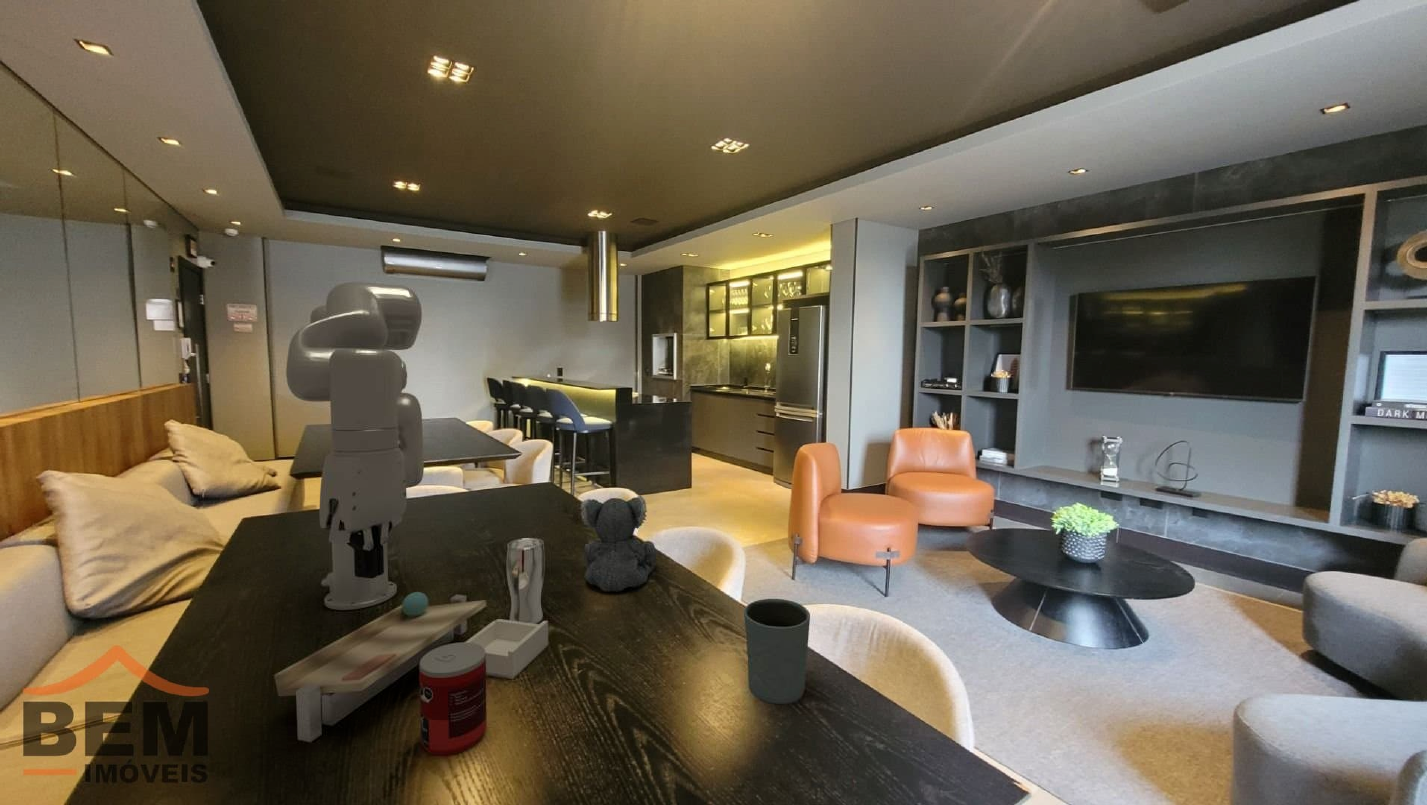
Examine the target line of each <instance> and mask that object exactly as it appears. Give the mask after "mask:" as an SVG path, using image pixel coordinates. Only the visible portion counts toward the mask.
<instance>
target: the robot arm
mask: <svg viewBox="0 0 1427 805" xmlns="http://www.w3.org/2000/svg"><path fill="white" fill-rule="evenodd" d="M325 302H326V303H325V305H324V304H323V305H320V306H318V307H315V308H314V309H313V310H312V312H311V314H310V320H309V322H310V323H308V324H306V325H305V326H303V327H301V328H300V329H298V330H297V331H296V332H295V333H294V334H293V336H292V338H291V339H290V343H289V346H288V351H287V360H286V370H285V374H286V375H285V376H286V382H287V386H288V389H289V391H290V392H291V393H292V395H293V396H294V397H295V398H297V399H299V400H301V401H304V402H314V403H317V402H330V428H331V429H330V431H331V432H330V439H331V452H330V453H329V454H327V455H326V456H325V460H324V463H323V466H322V467H323V468H322V474H321V482H320V490H319V526H320V528H321V530H325V531H330V532H329V536H328V542H329V543H331V548H332V549H331V550H332V551H331V552H332V554H331V555H332V572H329V573H328V574H327V575H326V578H323V579H322V581H321V582H320V585H321V586H324V587H329V593H328V594H326V596H324V606H325V607H327V608H328V609H331V610H336V611H351V610H358V609H363V608H368V607H373V606H375V605H378V604H381V603H383V602H386V601H387V600H390V599H391V598H393V597H394V596H395V594H397V589H398V588H397V587H398V586H397V584H396V583H395V582H392V581H389V575H388V574H389V573H388V572H389V571H388V540H389V539H388V538H389V534H390V532H391V530H392V529H393V528H394V527H396V526H397V525H399V524H400V523H402V521H403V514H404V513H405V512H406V510H407V502H408V500H407V498H408V496H407V494H408V493H407V489H410V488H413V487H416V486H418V485H420V483H421V482H422V481H423V478H424V469H425V462H424V461H425V460H424V459H425V458H424V457H425V456H424V436H423V415H422V414H423V413H422V409H421V408H422V407H421V404H420V402H419V399H418V398H417V397H416V396H415V394H414V395H413V394H412V393H408V392H403V391H404V389H406V387H407V383H408V381H407V380H408V379H407V378H408V372H407V365H406V363H405V361H404V360H402V358H401V357H400V355H399V354H398V353H396V352H394V351H404V350H405V351H406V350H409V349H411V348H412V347H413V346H414V344H415V342H416V340H417V336H418V333H419V331H420V329H421V324H422V318H423V316H422V315H423V313H422V306H421V304H422V303H421V301H420V299H419V297H418V295H417V294H416V292H414V291H413V290H412V289H411V288H409V287H407V286H403V285H394V284H384V283H383V284H382V283H375V282H374V283H371V282H362V281H359V282H358V281H354V282H353V281H350V282H349V281H348V282H343V283H339V284H338V285H336V286H334V287H333V288H331V289H330V290H329V292H328V294H327V297H326V301H325Z"/></svg>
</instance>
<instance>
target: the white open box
mask: <svg viewBox="0 0 1427 805" xmlns="http://www.w3.org/2000/svg"><path fill="white" fill-rule="evenodd" d="M465 642H467V643H475V644H478V645H480V646H482V647H483V648H484V649H485V654H486V676H490V677H497V678H504V679H509V680H515V678H516V677H517V676H518V675H519V674H520V673H521V672H522V671H523V670H524V669H525V668H526V667H528V665H529V664H530V663H532V662H533V661H534V660H535V659H536V658H537V657H538V656H539V655H540V654H541V653H542V652H543V651H544V650H545V649H546V648H547V647H548V646H549V621H548V620H543V621H542V622H539V623H537V624H532V623H525V622H517V621H510V620H509V619H501V618H497V619H496V620H493V621H492V622H490V623H489V624H487V625H486V626H485V627H483V628H482V629H481V630H479V631H478V632H476V633H475V634H474V635H473V636H471V637H470V638H469V639H467V640H466V641H465Z"/></svg>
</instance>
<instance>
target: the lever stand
mask: <svg viewBox="0 0 1427 805" xmlns="http://www.w3.org/2000/svg"><path fill="white" fill-rule="evenodd" d="M463 602H467V595H463V594H455V595H454V596H451V597H450V604H454V603H463ZM467 620H468V619H466V620H465V621H463V622H462V623H460V624H459V625H458V626H456V627H455V628H453V629H452V630H450V631H449V632H447V633H446V634H444V635H443V636H441V637H440V638H438V639H437V640H436V641H434V642H433V643H431V644H430V645H428V646H427V647H425V648H424V649H422V650H421V651H419V652H418V653H416V654H415V655H414V656H412V657H411V658H409V659H408V660H406V661H405V662H403V663H402V664H400V665H399V666H397V667H396V668H394V669H393V670H392V671H390V672H389V673H387V674H386V675H384V676H383V677H381V678H380V679H378V680H377V681H375V682H374V683H372V684H371V685H370V686H368V687H367V688H365V689H364V690H362V691H351V692H336V693H326V694H325V695H323V696H322V697H320V686H316V685H311V684H307V685H305V686H304V687H302V688H300V689H299V690H297V691H296V695H295V698H296V700H295V701H296V702H295V703H296V721H297V722H296V723H297V726H296V727H297V740H298V741H303V742H307V743H312V742H313V741H314V740H316V739H318V738H319V737H320V736H322V733H323V730H322V729H323V728H322V725H327V726H334V725H335V724H337V723H338V722H339V721H341V720H343V719H344V718H346V716H348V715H350V714H351V713H352V712H354V711H355V710H357V709H358V708H359V707H360V706H363V704H365V703H367V701H369V700H370V699H372V698H373V697H375V696H376V695H378V694H379V693H381V692H382V691H383V690H385V689H386V688H387V687H389V686H391V684H393V683H394V682H396V681H398V680H399V679H400V678H402V677H403V676H404V675H406V674H407V673H409V672H411V670H413V669H414V668H415V667H417V666H418V665H420V661H421V659H422V657H423V656H424V655H425V654H427V653H428V652H430V651H432V650H434V649H436V648H438V647H441V646H444V645H448V644H450V643H451V642H452V641H454V638H455V637H454V635H459V636H462V635H463V634H465V633H466V632H468V630H467V629H468V625H467V624H468V622H467Z"/></svg>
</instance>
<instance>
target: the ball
mask: <svg viewBox="0 0 1427 805" xmlns="http://www.w3.org/2000/svg"><path fill="white" fill-rule="evenodd" d="M401 605H402V609H403V611H404V613H405V614H406V615H408V616H411V617H415V616H419V615H421V614H422V613H423V612H424V611H425V610H426V609H427V607H428V606H429V599H428V596H427V595H426V593H423V592H421V591H420V592H419V591H414V592H412V593H411V592H410V593H409V594H408V595H406V597H405V598H404V599H403V600H402V604H401Z"/></svg>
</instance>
